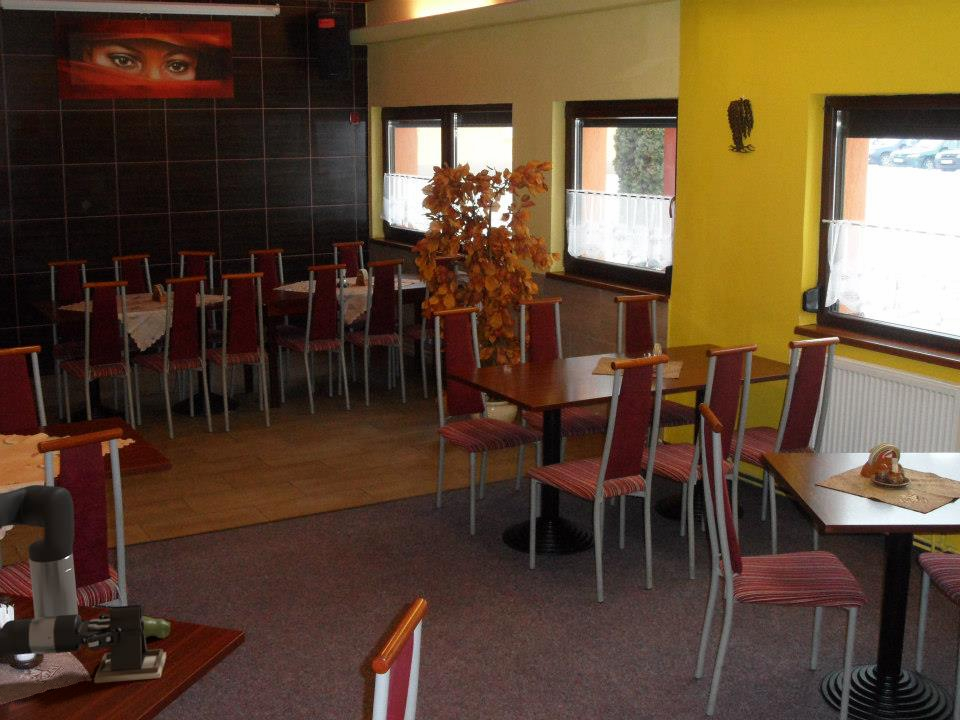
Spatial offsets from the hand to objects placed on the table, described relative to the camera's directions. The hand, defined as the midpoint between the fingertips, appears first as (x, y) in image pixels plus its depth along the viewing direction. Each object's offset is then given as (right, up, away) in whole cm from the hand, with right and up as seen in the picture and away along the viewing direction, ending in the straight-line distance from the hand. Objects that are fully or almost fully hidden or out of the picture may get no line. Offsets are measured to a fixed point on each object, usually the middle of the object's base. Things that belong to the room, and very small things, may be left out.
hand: (142, 628), depth 235 cm
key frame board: (-3, -9, +1) cm, 9 cm away
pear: (-4, -6, +17) cm, 18 cm away
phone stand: (-3, -7, +1) cm, 8 cm away
